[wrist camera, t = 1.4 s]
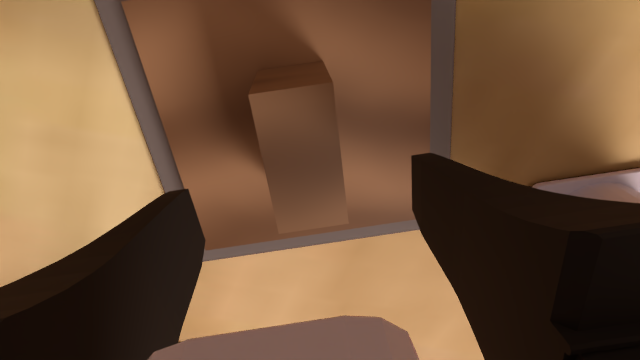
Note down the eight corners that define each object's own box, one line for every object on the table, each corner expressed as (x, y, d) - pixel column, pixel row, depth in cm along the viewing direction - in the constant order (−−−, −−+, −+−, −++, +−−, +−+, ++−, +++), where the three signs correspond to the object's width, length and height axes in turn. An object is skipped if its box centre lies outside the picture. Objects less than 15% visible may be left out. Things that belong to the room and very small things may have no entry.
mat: (445, 221, 23) (447, 225, 23) (192, 259, 23) (191, 263, 23) (455, -87, 16) (459, -88, 16) (86, -33, 16) (81, -34, 16)
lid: (423, 208, 22) (461, 269, 17) (208, 240, 22) (186, 310, 17) (424, -42, 16) (481, -56, 11) (130, 0, 16) (61, 5, 11)
